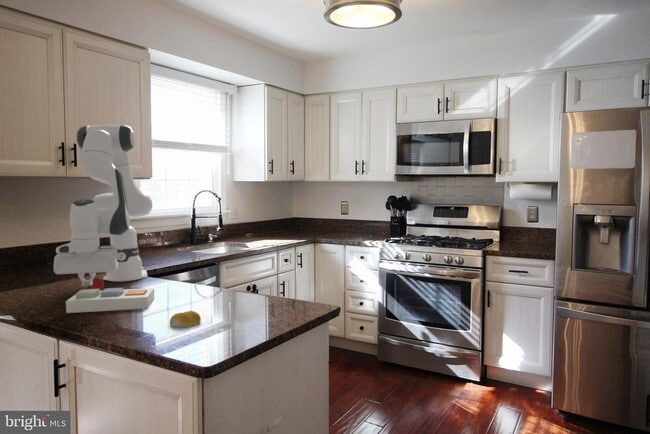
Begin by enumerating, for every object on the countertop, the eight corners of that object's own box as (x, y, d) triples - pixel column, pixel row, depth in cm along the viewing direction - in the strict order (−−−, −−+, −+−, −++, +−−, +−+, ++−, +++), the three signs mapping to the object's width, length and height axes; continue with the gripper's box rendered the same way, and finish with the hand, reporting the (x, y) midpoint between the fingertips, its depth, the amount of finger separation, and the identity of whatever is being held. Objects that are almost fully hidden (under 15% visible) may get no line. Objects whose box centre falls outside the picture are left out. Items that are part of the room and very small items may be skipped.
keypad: (79, 302, 170) (79, 291, 170) (154, 298, 175) (154, 288, 175) (66, 313, 157) (65, 301, 156) (147, 308, 162) (147, 297, 161)
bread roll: (205, 322, 146) (205, 310, 145) (182, 330, 138) (181, 317, 138) (188, 318, 150) (188, 306, 150) (164, 325, 143) (164, 312, 143)
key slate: (105, 296, 168) (105, 288, 168) (123, 295, 169) (123, 287, 169) (101, 300, 162) (100, 292, 162) (119, 299, 164) (119, 291, 163)
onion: (86, 297, 177) (85, 277, 177) (89, 294, 183) (88, 274, 182) (103, 296, 179) (102, 276, 178) (105, 293, 184) (105, 273, 184)
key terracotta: (129, 298, 170) (129, 290, 170) (146, 297, 171) (146, 289, 171) (125, 302, 164) (125, 294, 164) (143, 301, 165) (143, 293, 165)
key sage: (81, 297, 167) (81, 289, 166) (99, 296, 168) (99, 288, 168) (76, 302, 161) (75, 293, 161) (95, 301, 162) (94, 292, 162)
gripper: (119, 244, 168) (121, 282, 169) (57, 246, 164) (59, 284, 165) (115, 246, 162) (116, 285, 163) (50, 248, 158) (52, 288, 159)
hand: (87, 285), depth 164 cm, fingers closed
